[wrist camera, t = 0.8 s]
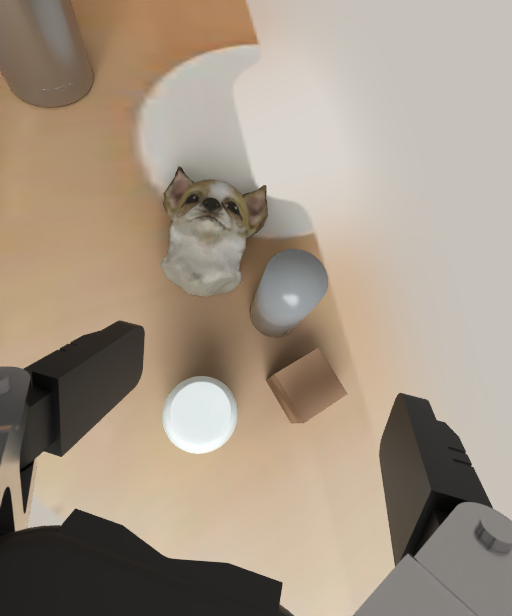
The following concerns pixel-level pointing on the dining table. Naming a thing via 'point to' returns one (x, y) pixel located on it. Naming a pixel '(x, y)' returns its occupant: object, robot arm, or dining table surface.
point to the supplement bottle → (200, 414)
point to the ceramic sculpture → (209, 233)
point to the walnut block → (306, 387)
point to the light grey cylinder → (288, 292)
